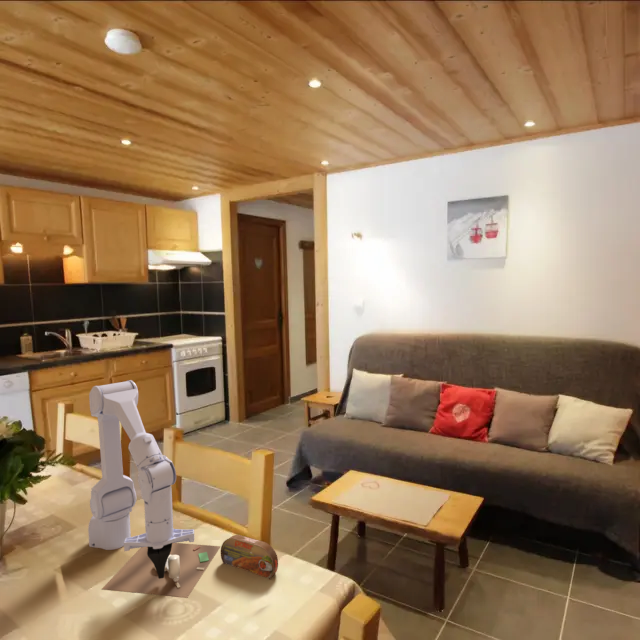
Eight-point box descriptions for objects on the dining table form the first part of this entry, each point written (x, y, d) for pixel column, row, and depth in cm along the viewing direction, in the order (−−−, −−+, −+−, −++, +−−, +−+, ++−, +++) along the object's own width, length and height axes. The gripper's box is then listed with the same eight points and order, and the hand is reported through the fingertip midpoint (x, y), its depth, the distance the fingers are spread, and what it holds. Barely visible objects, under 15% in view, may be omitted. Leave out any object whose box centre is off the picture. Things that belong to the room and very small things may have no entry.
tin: (220, 569, 109) (218, 535, 108) (228, 562, 112) (227, 529, 111) (273, 588, 102) (272, 552, 101) (280, 579, 105) (279, 544, 104)
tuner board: (101, 595, 100) (101, 588, 100) (147, 546, 119) (147, 539, 119) (187, 604, 97) (187, 596, 97) (220, 552, 116) (220, 545, 115)
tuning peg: (151, 563, 108) (150, 543, 108) (172, 556, 111) (171, 536, 111) (165, 587, 100) (164, 565, 99) (187, 578, 103) (186, 556, 102)
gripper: (119, 530, 95) (123, 592, 96) (192, 521, 98) (194, 581, 99) (126, 514, 102) (129, 572, 103) (193, 505, 105) (196, 562, 106)
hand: (161, 575), depth 101 cm, fingers closed
